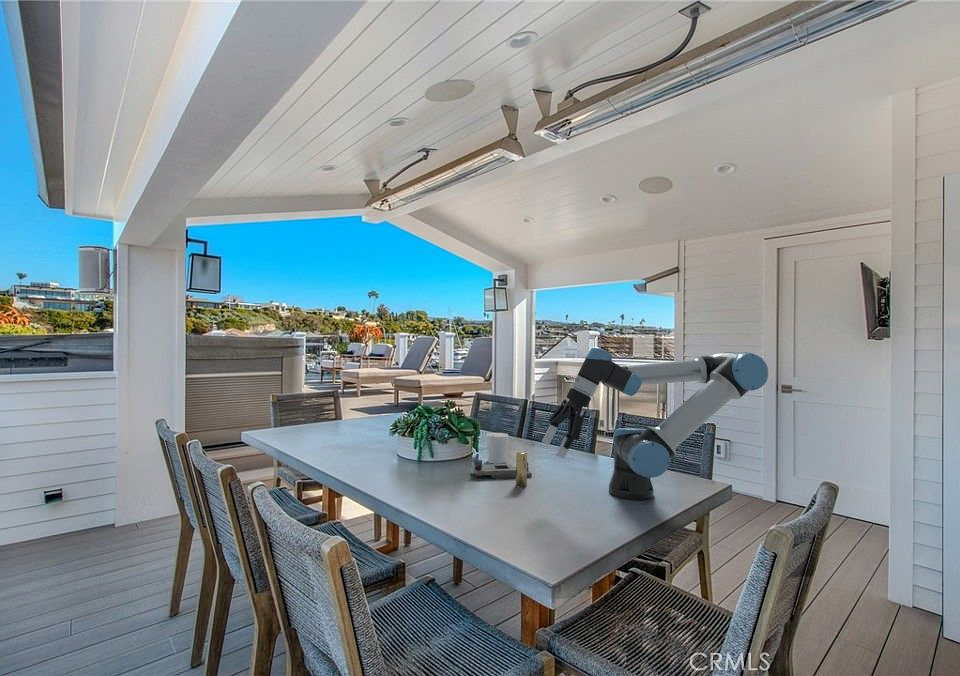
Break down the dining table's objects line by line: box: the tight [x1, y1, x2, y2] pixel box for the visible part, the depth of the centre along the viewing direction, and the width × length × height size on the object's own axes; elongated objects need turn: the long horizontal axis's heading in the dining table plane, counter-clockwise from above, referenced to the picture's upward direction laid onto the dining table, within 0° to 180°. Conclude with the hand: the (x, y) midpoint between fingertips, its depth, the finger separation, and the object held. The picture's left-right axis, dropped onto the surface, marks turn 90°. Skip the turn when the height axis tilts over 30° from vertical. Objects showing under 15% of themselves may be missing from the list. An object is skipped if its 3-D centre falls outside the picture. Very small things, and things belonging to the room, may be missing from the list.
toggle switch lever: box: [515, 451, 528, 488], centre depth 178 cm, size 4×4×12 cm
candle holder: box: [486, 432, 509, 464], centre depth 213 cm, size 10×10×12 cm
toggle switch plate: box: [471, 459, 533, 480], centre depth 192 cm, size 22×10×6 cm, turn 101°
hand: (552, 449), depth 157 cm, fingers open, 13 cm apart
